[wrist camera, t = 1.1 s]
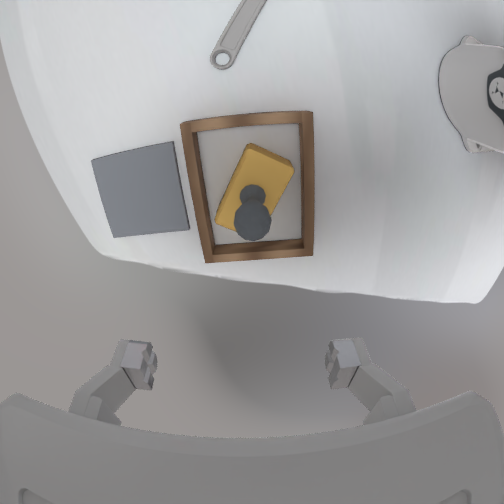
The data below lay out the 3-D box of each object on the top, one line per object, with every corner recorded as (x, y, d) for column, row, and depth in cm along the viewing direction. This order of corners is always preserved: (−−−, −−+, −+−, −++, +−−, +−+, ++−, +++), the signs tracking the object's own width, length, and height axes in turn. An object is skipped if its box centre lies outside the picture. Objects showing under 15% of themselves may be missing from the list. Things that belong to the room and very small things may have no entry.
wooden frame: (308, 110, 28) (312, 112, 26) (309, 245, 38) (312, 255, 36) (185, 121, 29) (179, 124, 27) (207, 252, 39) (205, 263, 37)
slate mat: (173, 141, 30) (172, 142, 30) (189, 228, 37) (189, 230, 36) (93, 159, 31) (91, 160, 30) (115, 235, 37) (113, 237, 37)
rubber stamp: (248, 141, 31) (245, 167, 20) (291, 161, 32) (310, 197, 22) (216, 210, 35) (201, 263, 25) (257, 226, 37) (258, 284, 27)
